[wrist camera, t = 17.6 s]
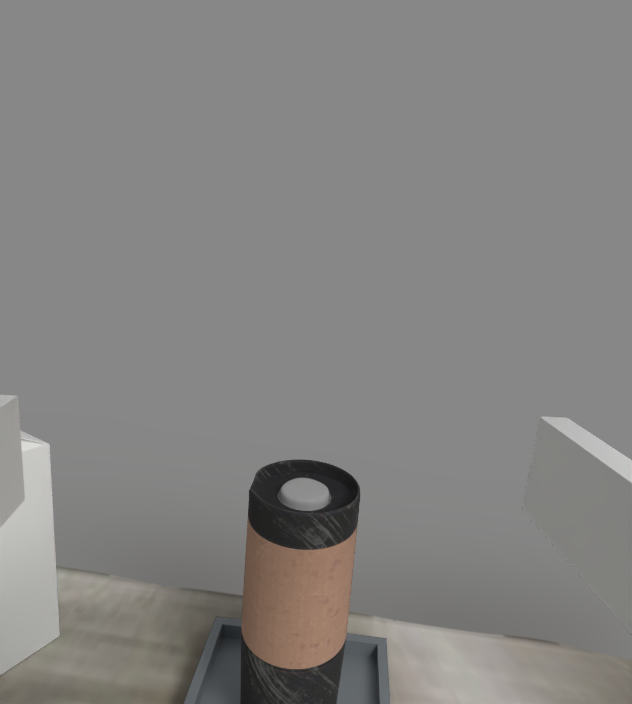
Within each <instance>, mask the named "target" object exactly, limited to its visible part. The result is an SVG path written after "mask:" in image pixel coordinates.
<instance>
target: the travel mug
mask: <svg viewBox="0 0 632 704" xmlns="http://www.w3.org/2000/svg"><path fill="white" fill-rule="evenodd" d="M359 502H360V488H359V485H358V483H357V481H356V480H355V479H354V477H353V476H351V475H350V474H349V473H347V472H346V471H344V470H342V469H340V468H338V467H336V466H333V465H330V464H327V463H323V462H319V461H312V460H286V461H280V462H276V463H273V464H270V465H267V466H265V467H263V468H261V469H260V470H259V471H258V472H257V473H256V475H255V478H254V481H253V483H252V486H251V488H250V490H249V509H248V525H247V541H246V558H245V574H244V590H243V607H242V623H241V692H240V704H337V697H338V690H339V683H340V677H341V670H342V663H343V656H344V649H345V642H346V635H347V625H348V615H349V603H350V595H351V584H352V574H353V563H354V553H355V543H356V533H357V522H358V513H359Z"/></svg>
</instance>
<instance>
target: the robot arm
mask: <svg viewBox="0 0 632 704" xmlns="http://www.w3.org/2000/svg"><path fill="white" fill-rule="evenodd" d="M24 500H25V492H24V478H23V463H22V449H21V434H20V420H19V406H18V396H14V395H0V528H1V526H2V525H3V524H4V523H5V522H6V521H7V520H8V518H9V517H10V516H11V515H12V514H13V513H14V512H15V510H16V509H17V508H18V507H19V506H20V505H21V504H22V502H23V501H24ZM522 510H523V511H524V513H525V514H526V515H527V516H528V517H529V518H530V519H531V521H532V522H533V523H534V524H535V525H536V526H537V527H538V529H539V530H540V531H541V532H542V533H543V534H544V535H545V537H546V538H547V539H548V540H549V541H550V542H551V543H552V545H553V546H555V548H556V549H557V550H558V551H559V553H560V554H561V555H562V556H563V557H564V558H565V559H566V561H567V562H568V563H569V564H570V565H571V566H572V567H573V569H574V570H575V571H576V572H577V573H578V574H579V575H580V576H581V578H582V579H583V580H584V581H585V582H586V583H587V584H588V585H589V587H590V588H591V589H592V590H593V591H594V592H595V594H596V595H597V596H598V597H599V598H600V599H601V600H602V602H603V603H604V604H605V605H606V606H607V607H608V608H609V609H610V611H611V612H612V613H613V614H614V615H615V616H616V617H617V619H618V620H619V621H620V622H621V623H622V624H623V625H624V627H625V628H626V629H627V630H628V631H629V632H630V634H631V635H632V460H630V459H629V458H627V457H626V456H624V455H623V454H621V453H619V452H618V451H617V450H615V449H614V448H612V447H611V446H609V445H608V444H606V443H604V442H603V441H601V440H600V439H598V438H597V437H595V436H594V435H592V434H591V433H589V432H588V431H586V430H585V429H583V428H582V427H580V426H579V425H577V424H576V423H574V422H572V421H571V420H570V419H568V418H561V417H559V418H558V417H540V418H539V424H538V429H537V434H536V439H535V444H534V449H533V455H532V460H531V465H530V470H529V476H528V480H527V486H526V491H525V496H524V501H523V506H522Z"/></svg>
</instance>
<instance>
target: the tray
mask: <svg viewBox="0 0 632 704" xmlns="http://www.w3.org/2000/svg"><path fill="white" fill-rule="evenodd" d="M241 623H242V620H240V619H232V618H224V617H216V618H215V621H214V623H213V626H212V629H211V631H210V634H209V637H208V640H207V642H206V645H205V648H204V650H203V653H202V656H201V658H200V661H199V664H198V666H197V669H196V672H195V674H194V677H193V680H192V682H191V685H190V688H189V690H188V693H187V696H186V698H185V701H184V704H240V692H241ZM337 704H390V693H389V676H388V660H387V643H386V638H379V637H371V636H363V635H355V634H348V633H347V635H346V642H345V649H344V656H343V663H342V670H341V677H340V683H339V690H338V697H337Z"/></svg>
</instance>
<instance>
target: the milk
mask: <svg viewBox="0 0 632 704" xmlns="http://www.w3.org/2000/svg"><path fill="white" fill-rule="evenodd" d="M20 434H21V449H22V463H23V478H24V492H25V500H24V501H23V502H22V504H21V505H20V506H19V507H18V508H17V509H16V510H15V512H14V513H13V514H12V515H11V516H10V517H9V518H8V520H7V521H6V522H5V523H4V524H3V525H2V526H1V528H0V675H2V674H3V673H5V672H6V671H8V670H9V669H11V668H12V667H14V666H15V665H17V664H18V663H20V662H21V661H23V660H24V659H26V658H27V657H29V656H30V655H32V654H33V653H35V652H36V651H38V650H39V649H41V648H42V647H44V646H46V645H47V644H49V643H50V642H52V641H53V640H55V639H56V638H58V637H59V636H60V630H59V612H58V593H57V574H56V558H55V557H56V556H55V538H54V519H53V500H52V481H51V465H50V464H51V463H50V446H49V444H48V443H45V442H44V441H42V440H40V439H37V438H35V437H33V436H31V435H29V434H27V433H25V432H23V431H21V430H20Z"/></svg>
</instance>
